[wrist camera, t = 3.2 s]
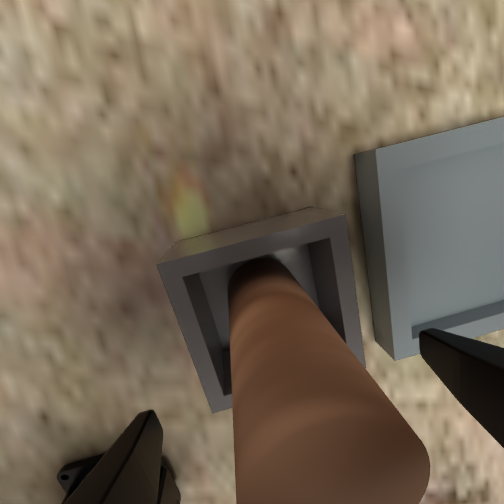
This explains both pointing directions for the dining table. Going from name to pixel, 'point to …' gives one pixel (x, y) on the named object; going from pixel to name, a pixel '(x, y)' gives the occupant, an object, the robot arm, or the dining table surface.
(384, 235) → the slate tray
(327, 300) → the grey square bin
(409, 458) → the dowel pin
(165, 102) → the dining table surface
